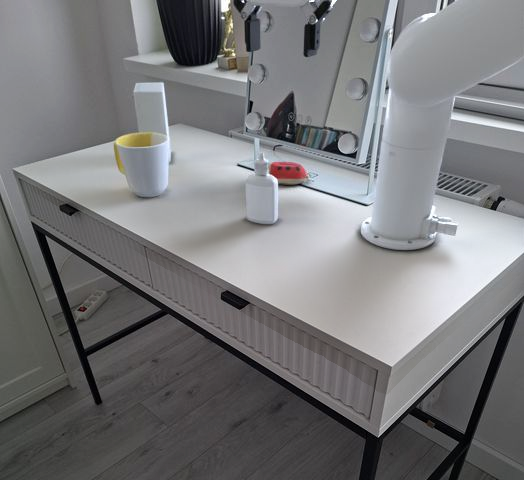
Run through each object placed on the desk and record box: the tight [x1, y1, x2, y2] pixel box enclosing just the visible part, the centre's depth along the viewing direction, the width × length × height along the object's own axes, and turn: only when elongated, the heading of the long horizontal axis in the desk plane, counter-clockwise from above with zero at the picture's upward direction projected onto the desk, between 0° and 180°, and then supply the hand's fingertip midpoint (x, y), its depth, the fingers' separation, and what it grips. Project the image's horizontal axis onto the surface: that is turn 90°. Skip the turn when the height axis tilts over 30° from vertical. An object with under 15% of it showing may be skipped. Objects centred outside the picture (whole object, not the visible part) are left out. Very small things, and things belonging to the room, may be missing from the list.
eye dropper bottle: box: [245, 151, 279, 225], centre depth 88 cm, size 4×6×12 cm
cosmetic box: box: [132, 81, 172, 164], centre depth 115 cm, size 8×7×16 cm
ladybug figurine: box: [268, 161, 310, 186], centre depth 106 cm, size 7×10×4 cm
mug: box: [113, 132, 170, 198], centre depth 101 cm, size 14×10×10 cm
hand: (281, 53), depth 75 cm, fingers open, 9 cm apart
